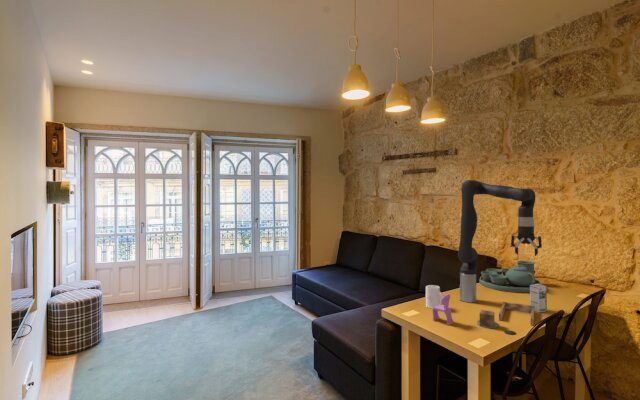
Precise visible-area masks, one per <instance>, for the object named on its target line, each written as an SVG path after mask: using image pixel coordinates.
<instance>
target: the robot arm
mask: <svg viewBox="0 0 640 400" xmlns="http://www.w3.org/2000/svg"><path fill="white" fill-rule="evenodd" d="M475 195H488V196H492V197H496V198H500V199H501V198H502V199H507V200H513V201H518V202H520V206H519V207H518V209H517V210H518V213H517V214H518V218H517V235H514V234H512V235H511V237H510V238H511V239H510V240H511V241H510V242H511V243H510V247H513V248H514V253H515V255H519V245H521V244H522V245H525V244H526V245H530V244H531V246H533V247H534V256H538V254H539V249H542V246H543V245H542V236H535V219H534V208H535V203H536V193H535V191H534V189H532V188H521V187H513V186H510V185H509V186H508V185H500V184H499V185H498V184H489V183H485V182H481V181H479V180H475V179H474V180H473V179H466V180H464V181H463V183H462V184H461V216H460V217H461V218H460V234H459V236H460V237H459V238H460V239H459V246H458V251H457V257H458V260H459V261H460V262H461V263H462V265H461V267H460V269H459V271H460V272H459V279H460V280H459V282H460V284H459V301H462V302H463V303H464V302H465V303H476V302H477V301H478V300H477V298H478V297H477V270H478V264H479V263H478V259H479V258H478V257H479V256H478V252H477V250H476V249H475V248H474V247H473V239H474V236H475V234H476V232H477V227H478V213H477V211H476V208H475V206H474V199H475V198H474V197H475ZM516 239H517V240H518V242H517V243H516V244H515V240H516ZM535 240H536V241H538V244H536V242H534V241H535Z"/></svg>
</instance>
